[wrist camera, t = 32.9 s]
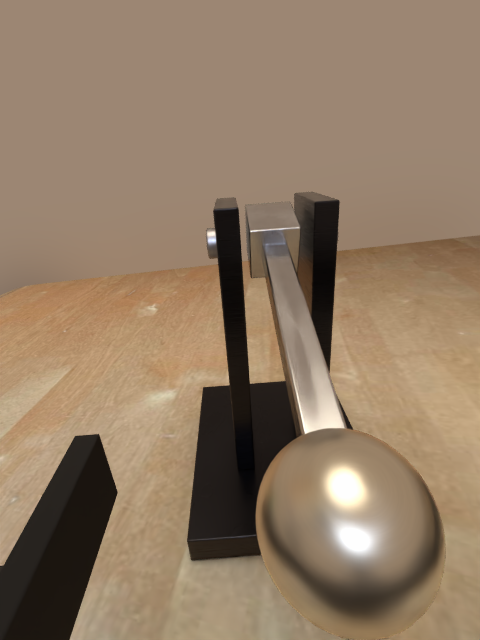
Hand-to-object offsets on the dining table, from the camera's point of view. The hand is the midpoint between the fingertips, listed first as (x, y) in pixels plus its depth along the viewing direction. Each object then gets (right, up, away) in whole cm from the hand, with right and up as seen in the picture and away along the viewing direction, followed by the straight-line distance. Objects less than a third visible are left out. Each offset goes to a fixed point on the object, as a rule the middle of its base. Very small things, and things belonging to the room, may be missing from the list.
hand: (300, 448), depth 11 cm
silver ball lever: (0, +3, +1) cm, 3 cm away
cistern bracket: (0, -4, +11) cm, 11 cm away
